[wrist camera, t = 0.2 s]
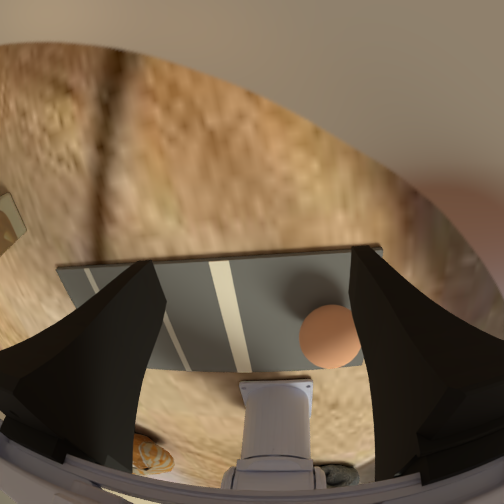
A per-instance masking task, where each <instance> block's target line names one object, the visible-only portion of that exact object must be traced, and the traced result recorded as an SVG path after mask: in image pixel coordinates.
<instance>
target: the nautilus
mask: <svg viewBox="0 0 504 504" xmlns="http://www.w3.org/2000/svg"><path fill="white" fill-rule="evenodd" d="M173 467H174V459H173V457H172V456H171V455H170V454H169V452H168V451H166V450H164V449H163V448H161V447H159V446H158V445H156V444H155V443H154V442H153V441H152V440H151V439H150V438H148V437H147V436H145V435H141V434H135V433H134V441H133V473H132V474H137V475H153V474H160V473H164V472H170V471H171V470H172V468H173Z"/></svg>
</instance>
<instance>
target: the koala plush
mask: <svg viewBox="0 0 504 504" xmlns="http://www.w3.org/2000/svg"><path fill="white" fill-rule="evenodd" d="M320 468H321V469H322V470H323V471H324V472H325V476H326V488H336V487H345V486H352V485H358V483H359V479H360V478H359V474H358V472H357V470H356V469H354V468H347V467H345V466H342V465H327V466H322V467H320Z"/></svg>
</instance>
